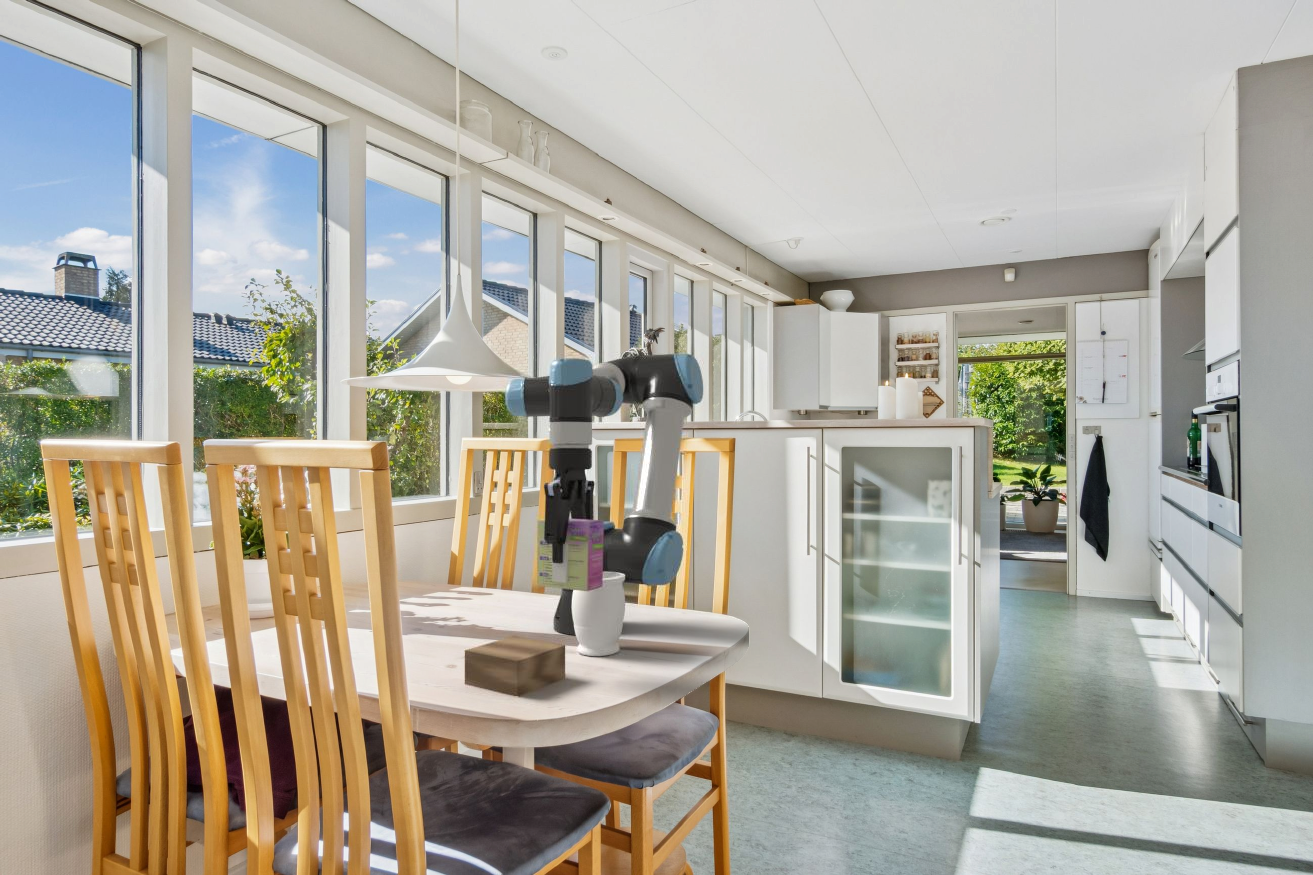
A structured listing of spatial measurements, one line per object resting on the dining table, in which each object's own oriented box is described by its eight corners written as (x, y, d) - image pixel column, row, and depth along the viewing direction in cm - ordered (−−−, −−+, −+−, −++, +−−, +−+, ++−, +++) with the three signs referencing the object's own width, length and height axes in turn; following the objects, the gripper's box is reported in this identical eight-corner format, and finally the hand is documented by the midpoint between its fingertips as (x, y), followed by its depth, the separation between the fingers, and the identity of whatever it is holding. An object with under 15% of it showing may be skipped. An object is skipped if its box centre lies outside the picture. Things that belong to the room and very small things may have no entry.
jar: (597, 641, 160) (598, 568, 160) (635, 650, 153) (636, 574, 153) (560, 652, 152) (560, 575, 152) (598, 661, 145) (599, 581, 145)
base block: (514, 668, 141) (514, 635, 141) (565, 679, 135) (565, 645, 135) (464, 685, 131) (464, 650, 131) (517, 698, 125) (517, 661, 125)
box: (603, 586, 137) (604, 519, 137) (587, 591, 131) (588, 522, 132) (553, 582, 141) (553, 516, 141) (535, 587, 136) (536, 519, 136)
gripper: (578, 447, 147) (577, 570, 146) (522, 446, 130) (521, 585, 129) (613, 447, 144) (613, 573, 143) (561, 446, 126) (560, 589, 126)
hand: (569, 578), depth 136 cm, fingers closed on box, 6 cm apart
